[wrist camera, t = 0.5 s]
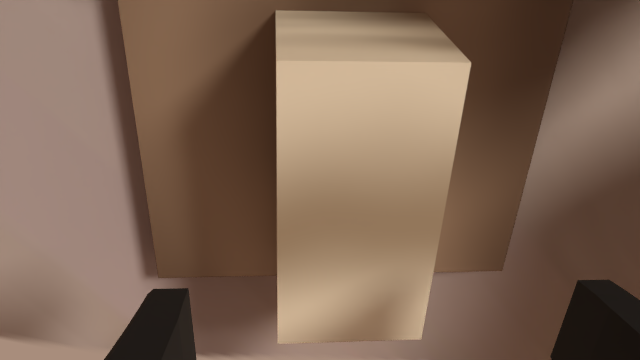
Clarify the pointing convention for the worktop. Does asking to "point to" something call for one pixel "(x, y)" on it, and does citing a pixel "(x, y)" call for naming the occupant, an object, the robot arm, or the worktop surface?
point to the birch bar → (361, 170)
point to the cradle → (260, 123)
